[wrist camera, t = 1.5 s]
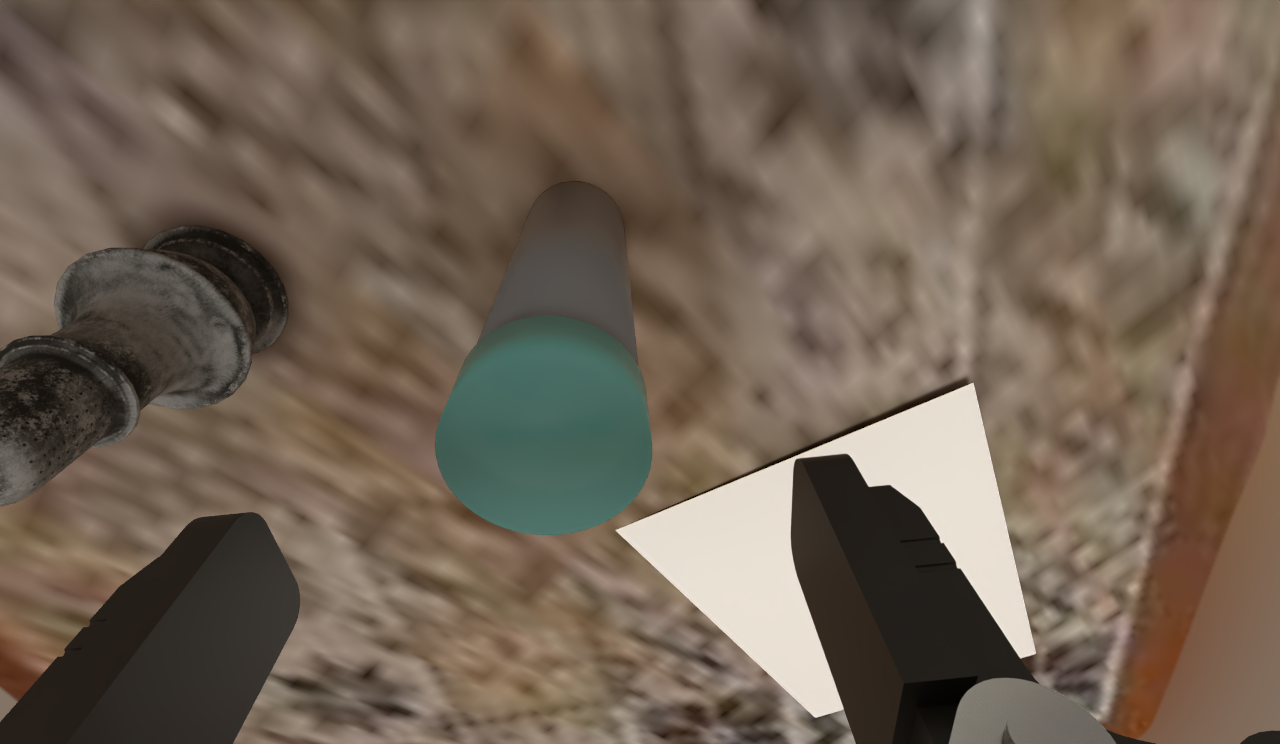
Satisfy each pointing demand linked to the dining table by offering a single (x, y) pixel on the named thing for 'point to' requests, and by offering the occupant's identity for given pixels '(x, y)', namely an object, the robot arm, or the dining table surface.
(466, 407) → the marker
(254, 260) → the weathered grey finial
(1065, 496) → the dining table surface
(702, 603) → the paper sheet
